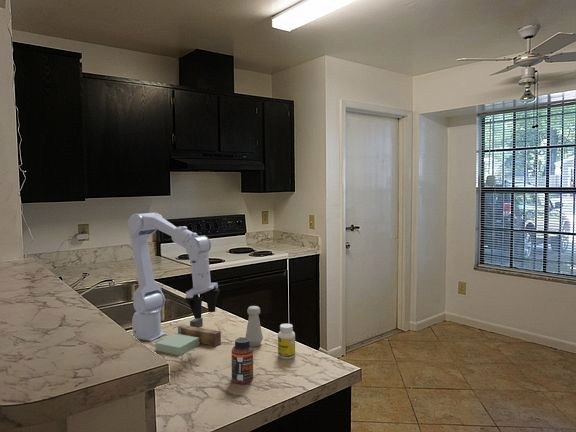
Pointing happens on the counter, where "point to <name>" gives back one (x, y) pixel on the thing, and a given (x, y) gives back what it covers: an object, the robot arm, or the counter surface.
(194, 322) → the leg stop
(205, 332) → the folding leg
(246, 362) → the supplement bottle
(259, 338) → the salt shaker
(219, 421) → the counter surface
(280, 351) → the supplement bottle
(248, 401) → the counter surface
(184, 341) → the stool seat
